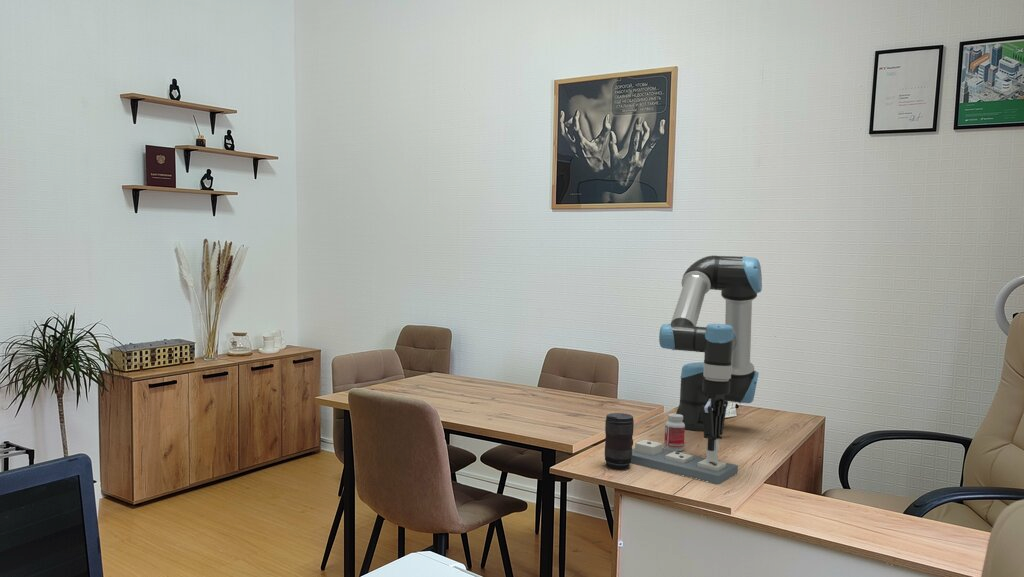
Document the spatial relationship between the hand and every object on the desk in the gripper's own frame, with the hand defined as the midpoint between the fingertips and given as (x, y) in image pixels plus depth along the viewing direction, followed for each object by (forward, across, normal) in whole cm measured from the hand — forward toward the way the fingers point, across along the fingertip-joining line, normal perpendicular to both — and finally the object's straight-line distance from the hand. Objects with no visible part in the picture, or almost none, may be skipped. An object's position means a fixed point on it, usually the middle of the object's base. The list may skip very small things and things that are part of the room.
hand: (711, 461), depth 206 cm
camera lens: (+4, +13, -23) cm, 27 cm away
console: (+4, 0, -10) cm, 11 cm away
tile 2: (+4, 0, -10) cm, 11 cm away
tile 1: (+2, 0, -20) cm, 20 cm away
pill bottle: (+4, -17, -20) cm, 27 cm away
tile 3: (+4, 0, 0) cm, 4 cm away
